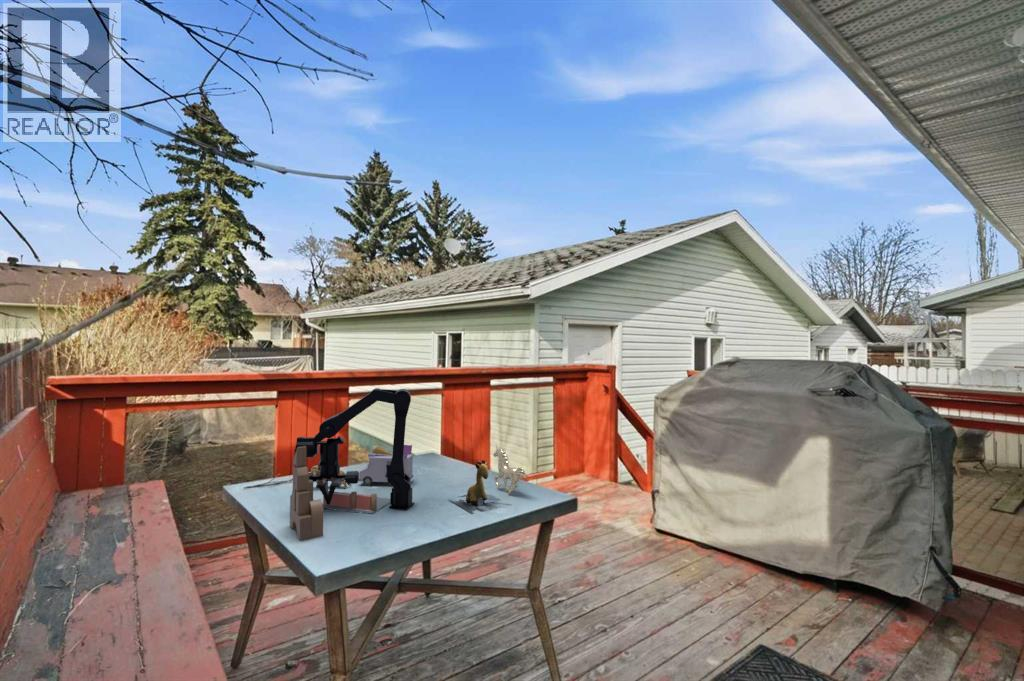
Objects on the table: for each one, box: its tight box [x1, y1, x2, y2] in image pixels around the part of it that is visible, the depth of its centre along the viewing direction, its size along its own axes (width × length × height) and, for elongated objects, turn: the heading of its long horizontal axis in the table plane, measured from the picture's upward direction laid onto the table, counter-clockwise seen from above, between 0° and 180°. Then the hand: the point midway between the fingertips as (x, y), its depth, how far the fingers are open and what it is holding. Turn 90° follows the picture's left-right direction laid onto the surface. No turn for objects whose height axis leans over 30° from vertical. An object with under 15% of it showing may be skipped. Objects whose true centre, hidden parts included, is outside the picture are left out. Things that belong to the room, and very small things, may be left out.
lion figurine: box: [310, 465, 352, 489], centre depth 187 cm, size 15×5×9 cm, turn 108°
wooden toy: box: [289, 446, 324, 541], centre depth 146 cm, size 16×7×25 cm, turn 35°
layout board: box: [322, 496, 390, 515], centre depth 170 cm, size 21×15×1 cm
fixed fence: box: [350, 491, 378, 511], centre depth 163 cm, size 9×2×6 cm, turn 75°
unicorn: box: [493, 444, 527, 496], centre depth 184 cm, size 20×4×17 cm, turn 37°
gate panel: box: [322, 490, 351, 507], centre depth 166 cm, size 10×1×4 cm, turn 75°
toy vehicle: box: [358, 444, 414, 486], centre depth 193 cm, size 9×20×15 cm, turn 88°
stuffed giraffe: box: [448, 459, 512, 515], centre depth 173 cm, size 16×18×16 cm
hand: (328, 504), depth 163 cm, fingers closed
